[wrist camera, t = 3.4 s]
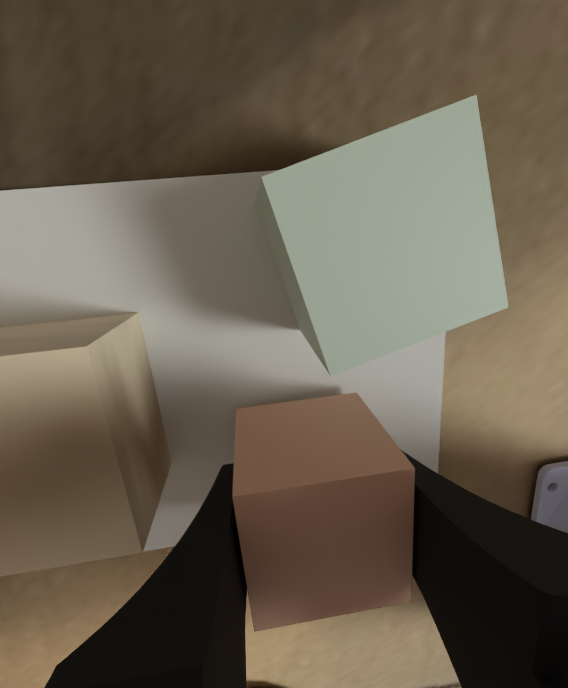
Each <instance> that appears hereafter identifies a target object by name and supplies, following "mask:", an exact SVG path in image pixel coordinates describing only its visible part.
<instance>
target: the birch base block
mask: <svg viewBox="0 0 568 688" xmlns="http://www.w3.org/2000/svg"><path fill="white" fill-rule="evenodd" d="M171 464H172V463H171V459H170V454H169V449H168V445H167V440H166V436H165V431H164V426H163V422H162V417H161V413H160V408H159V403H158V399H157V394H156V390H155V385H154V380H153V376H152V371H151V367H150V362H149V357H148V353H147V348H146V343H145V339H144V334H143V330H142V325H141V320H140V316H139V312H137V313H127V314H118V315H108V316H99V317H90V318H80V319H71V320H61V321H52V322H43V323H33V324H24V325H15V326H5V327H0V577H2V576H8V575H14V574H20V573H26V572H32V571H38V570H44V569H50V568H56V567H62V566H68V565H74V564H80V563H86V562H92V561H99V560H105V559H111V558H117V557H123V556H129V555H135V554H141V553H143V550H144V547H145V544H146V541H147V538H148V535H149V532H150V529H151V526H152V523H153V519H154V516H155V513H156V510H157V507H158V504H159V501H160V498H161V495H162V492H163V489H164V486H165V482H166V479H167V476H168V473H169V470H170V467H171Z"/></svg>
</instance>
